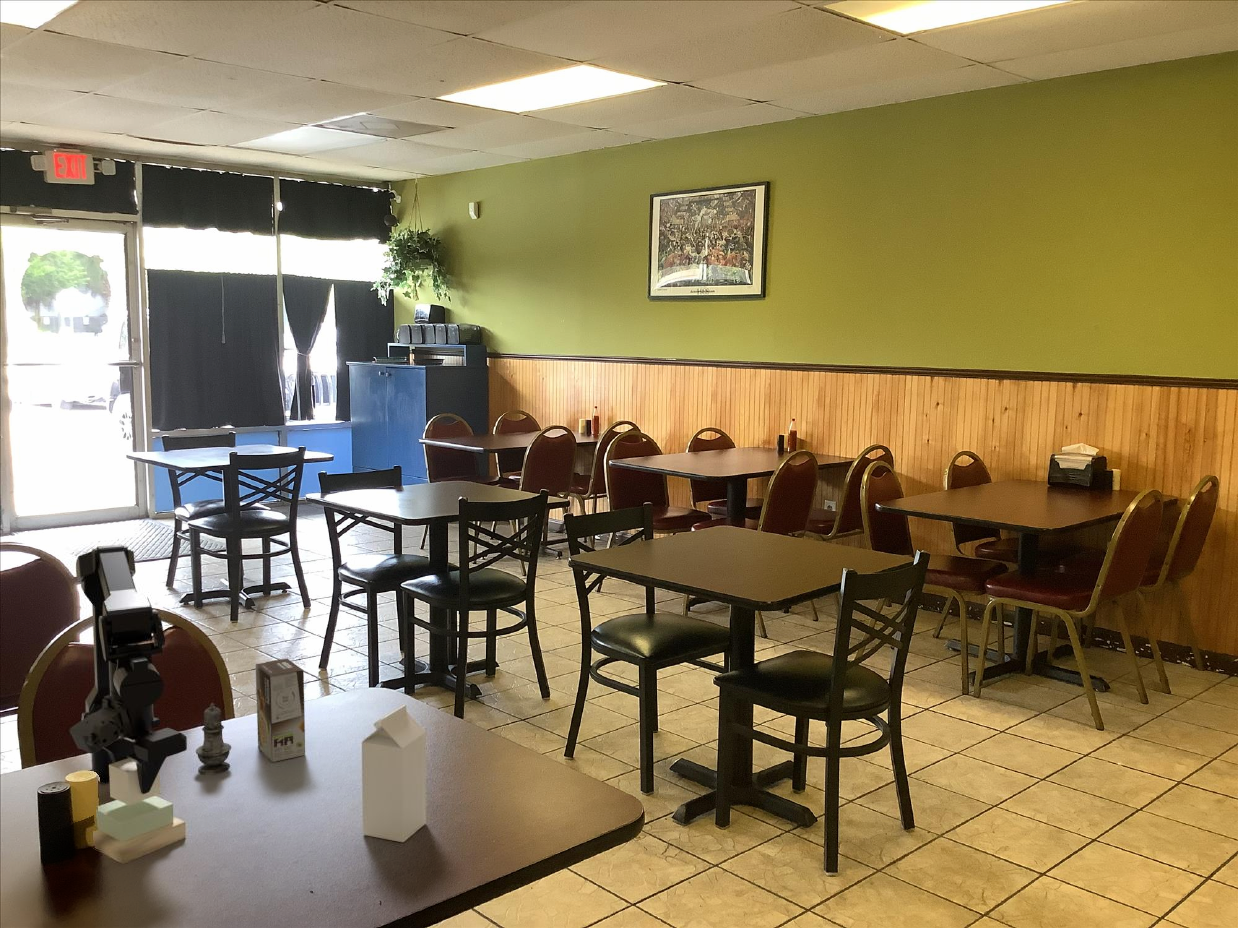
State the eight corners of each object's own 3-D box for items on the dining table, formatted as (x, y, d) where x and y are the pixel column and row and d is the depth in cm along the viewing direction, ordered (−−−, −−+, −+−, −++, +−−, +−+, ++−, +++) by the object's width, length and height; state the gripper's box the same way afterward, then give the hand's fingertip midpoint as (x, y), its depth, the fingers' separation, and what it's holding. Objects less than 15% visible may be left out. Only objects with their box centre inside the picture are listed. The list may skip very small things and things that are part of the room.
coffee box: (307, 755, 191) (305, 669, 189) (272, 762, 187) (270, 676, 185) (289, 739, 198) (288, 657, 197) (255, 746, 195) (253, 663, 193)
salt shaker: (219, 776, 181) (217, 709, 180) (189, 773, 182) (187, 706, 181) (238, 763, 187) (236, 698, 186) (208, 760, 188) (206, 695, 187)
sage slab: (93, 827, 156) (93, 807, 156) (144, 808, 163) (144, 790, 162) (122, 842, 152) (121, 822, 151) (173, 822, 158) (172, 803, 158)
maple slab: (85, 847, 156) (85, 828, 156) (148, 822, 165) (147, 804, 164) (123, 866, 151) (122, 846, 150) (185, 840, 159) (185, 821, 159)
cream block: (110, 796, 156) (109, 764, 156) (141, 785, 161) (140, 753, 160) (129, 805, 154) (127, 772, 153) (160, 793, 158) (159, 761, 157)
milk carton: (426, 823, 165) (425, 707, 162) (403, 843, 158) (402, 722, 156) (387, 816, 167) (386, 701, 165) (362, 835, 160) (360, 716, 158)
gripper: (43, 689, 154) (48, 791, 156) (114, 716, 143) (118, 825, 145) (115, 670, 163) (119, 766, 165) (187, 694, 153) (190, 797, 154)
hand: (135, 788), depth 157 cm, fingers closed on cream block, 5 cm apart
